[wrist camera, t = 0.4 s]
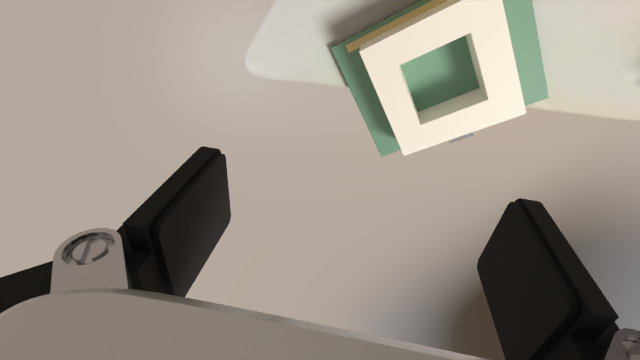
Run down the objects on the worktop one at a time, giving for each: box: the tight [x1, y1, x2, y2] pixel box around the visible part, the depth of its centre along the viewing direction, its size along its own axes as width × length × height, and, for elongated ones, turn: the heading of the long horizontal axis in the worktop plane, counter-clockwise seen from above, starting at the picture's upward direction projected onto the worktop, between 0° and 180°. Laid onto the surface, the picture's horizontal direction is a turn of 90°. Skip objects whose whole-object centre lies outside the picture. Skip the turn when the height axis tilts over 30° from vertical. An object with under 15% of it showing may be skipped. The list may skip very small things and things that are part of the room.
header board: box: [331, 0, 549, 156], centre depth 32 cm, size 18×14×4 cm
